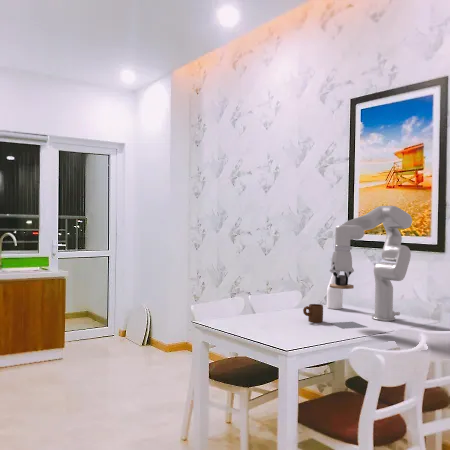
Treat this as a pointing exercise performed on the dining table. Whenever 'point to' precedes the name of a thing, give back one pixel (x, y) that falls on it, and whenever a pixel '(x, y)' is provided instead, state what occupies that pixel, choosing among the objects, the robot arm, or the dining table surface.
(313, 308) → the mug
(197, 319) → the dining table surface
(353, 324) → the rubber mat
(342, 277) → the copper lid
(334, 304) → the wine bottle
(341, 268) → the robot arm
